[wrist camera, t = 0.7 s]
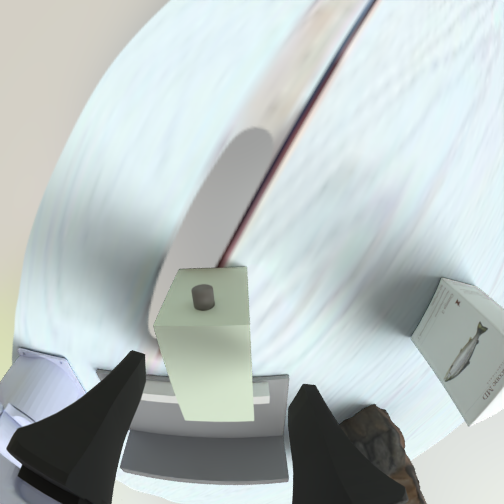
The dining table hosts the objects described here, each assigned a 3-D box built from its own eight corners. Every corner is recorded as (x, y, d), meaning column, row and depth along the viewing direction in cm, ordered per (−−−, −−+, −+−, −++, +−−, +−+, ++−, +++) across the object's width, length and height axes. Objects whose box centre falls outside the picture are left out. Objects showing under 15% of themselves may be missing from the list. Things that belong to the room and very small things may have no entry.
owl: (378, 396, 27) (432, 530, 8) (412, 415, 30) (456, 512, 11) (302, 443, 30) (322, 565, 11) (349, 454, 33) (374, 548, 15)
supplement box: (440, 274, 21) (527, 355, 9) (477, 285, 22) (548, 349, 10) (407, 338, 23) (467, 429, 11) (447, 340, 24) (502, 412, 12)
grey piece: (134, 432, 28) (124, 471, 22) (97, 369, 23) (74, 417, 17) (281, 437, 29) (287, 481, 22) (288, 374, 24) (299, 434, 17)
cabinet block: (195, 358, 23) (185, 420, 16) (177, 256, 19) (149, 309, 13) (250, 357, 23) (254, 421, 16) (246, 253, 19) (249, 308, 13)
